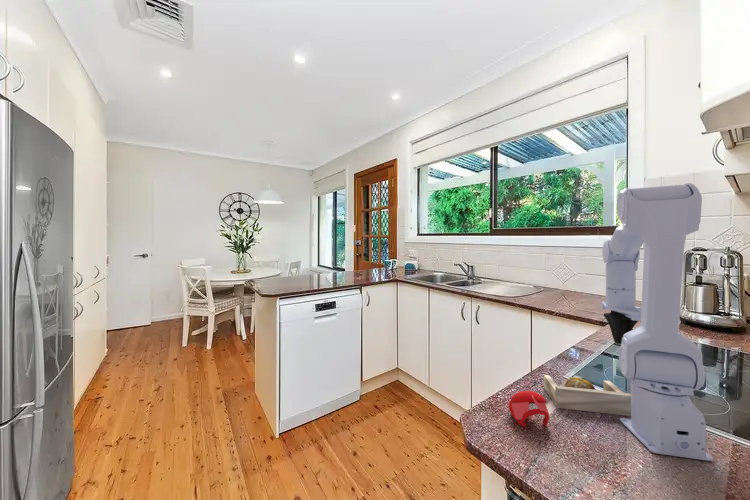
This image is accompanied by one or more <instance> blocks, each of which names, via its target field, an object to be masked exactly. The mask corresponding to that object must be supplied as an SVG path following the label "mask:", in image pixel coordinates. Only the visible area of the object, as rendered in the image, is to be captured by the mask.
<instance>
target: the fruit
mask: <svg viewBox="0 0 750 500" xmlns="http://www.w3.org/2000/svg"><path fill="white" fill-rule="evenodd" d="M563 387H573V388H583V389H593V390H596V387H595V386H594V385H593V383H591V382H590V381H588V380H586V379H584V378H581V377H576V376H575V377H573V376H572V377H569V378H567V380H566V381H565V383H564V386H563Z"/></svg>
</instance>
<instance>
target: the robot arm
mask: <svg viewBox="0 0 750 500" xmlns="http://www.w3.org/2000/svg"><path fill="white" fill-rule="evenodd" d="M702 201H703V198H702V194H701V192H700V190H699V188H698V187H697V186H696V185H695V184H694V183H691V182H689V183H684V184H673V185H662V186H661V185H659V186H647V187H635V188H628V187H626V188H623V189H622V190H621V191H620V192H619V193H618V195H617V201H616V215H617V217H618V218H617V219H618V220H619V221H620V222H621V225H619V226H617V227H616V228H615V230H614V232H613V234H612V235H611V238H610V239H608V240H604V241H603V243H602V244H603V245H602V251H601V252H602V260H603V263H604V264H605V300H604V301H603V300H602V301H601V303H600V304H601V305H600V308H601V309H602V310H608V311H610V312H604V313H603V317H604V318H605V320H606V321H607V323H608V326H609V328H610V332H611V335H612V338H613V339H612V340H613V342H614V343H615V344H617V345H620V347H619V350H618V361H619V363H618V364H619V369H620V372H621V374H622V375H623V376H624V377H625V379H627V380H630V393H631V416H630V418H625V417H620V418H619V421H620V422H621V423H622V424H623V425H624V426H625V427H626V428H627V429H628V430H629V431H630V432H631V433H632V434H633V435H634V436H635V438H637V439H638V441H640V442H641V443H642V444H643V445H644V446H645V447H646V448H647V449H648V451H650V452H651V453H653V454H657V455H658V454H659V455H664V456H665V455H666V456H671V457H672V456H673V457H680V458H685V459H686V458H687V459H694V460H701V461H707V462H713V461H714V458H713V456H712V455H710V454H708V453H707V429H706V428H707V424H706V419H705V416H704V414H703V413H702V411H701V410H700V409H698V408H697V407H696V406H695V405H694V403H693V402H692V400H691V399H690V396H692V397H693V396H694V395H695V394H694V391H699V390H700V389H701V388H702V387H704V385H705V381H706V371H705V367H704V364H703V362H704V361H703V353H702V351H701V349H700V348H699V346H698V345H697V344H696V343H695V342H693V341H692V340H691V339H690V338H687V336H684V335H683V334H681V333H680V320H681V319H680V317H681V315H680V314H681V304H682V302H681V301H682V300H681V299H682V285H683V271H684V270H683V269H684V254H685V253H684V252H685V245H686V239H687V236H688V235H690V234H693V233H695V232H698V231H699V229H700V223H701V217H702V205H703V204H702ZM643 245H644V247H643V248H644V250H643V265H642V266H643V268H642V288H641V307H639V306H636V305H637V303H636V301H637V298H636V296H637V295H636V293H637V292H636V291H637V289H636V288H637V287H636V284H637V283H636V281H637V280H636V273H637V271H638V268H639V261H640V253H641V252H640V251H641V250H640V249H641V248H642V246H643ZM638 322H640V325H639V326H638V327H636V328H634V327H635V326H636V325H637V323H638Z"/></svg>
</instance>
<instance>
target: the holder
mask: <svg viewBox="0 0 750 500" xmlns="http://www.w3.org/2000/svg"><path fill="white" fill-rule="evenodd" d="M543 389H544V390H545V392H546V393H547V395H549V397H550V399H551V401H552V402H553V403H554V404H555V406H556V408H558V409H567V410H575V411H584V412H593V413H600V414H601V413H602V414H607V415H618V416H626V417H631V392H630V393H629V392H623V391H622V390H621V389H620V388H619V387H617V385H615V384H614V383H612V381H610V380H602V390H601V389H595V390H593V389H583V388H573V387H564V386H562V385H560V386H559V385H557V383H556V382H555V381H554V379H553V378H552V377H551V376H550V374H549V375H548V374H543Z"/></svg>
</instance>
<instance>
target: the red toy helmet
mask: <svg viewBox="0 0 750 500" xmlns="http://www.w3.org/2000/svg"><path fill="white" fill-rule="evenodd" d="M547 403H548V401H547V400H546V398H545V397H544V396H543V395H542V394H540V393H538V392H536V391H532V390H521V391H518V392H516V393H514V394H513V395H512V396H511V397H510V400H509V402H508V409H509V411H510V414H511V416H512V417H513V419H514V420H515V421H516V422H517V424H518V425H519V426H521V427H523V428H526V426H527V423H526V419H528V418H530V417H532V416H534V415H542V416H544V417H543V420H542V425H543V426H544V427H546V426H547V425H548V423H549V420H550V414H549V411H548V408H547V405H546V404H547ZM531 404H533V405H536V407H537V408H533V409H530V405H531Z"/></svg>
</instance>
